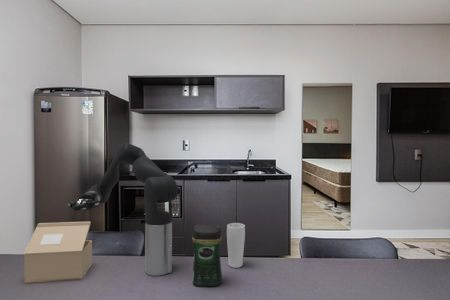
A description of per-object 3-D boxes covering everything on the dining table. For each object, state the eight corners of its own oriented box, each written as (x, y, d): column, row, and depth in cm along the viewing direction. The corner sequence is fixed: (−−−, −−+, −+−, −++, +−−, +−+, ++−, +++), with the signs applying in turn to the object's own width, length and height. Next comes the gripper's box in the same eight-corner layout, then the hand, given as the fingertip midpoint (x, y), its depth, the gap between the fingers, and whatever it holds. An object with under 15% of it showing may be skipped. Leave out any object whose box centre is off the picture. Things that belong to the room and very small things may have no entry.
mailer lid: (91, 222, 103) (90, 221, 103) (82, 251, 93) (81, 250, 93) (38, 224, 100) (38, 223, 100) (24, 254, 90) (23, 253, 90)
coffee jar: (222, 276, 96) (222, 222, 96) (221, 288, 89) (221, 228, 88) (193, 275, 97) (194, 221, 97) (190, 287, 89) (190, 228, 89)
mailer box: (92, 264, 105) (92, 240, 105) (81, 279, 93) (81, 252, 93) (41, 267, 102) (41, 242, 102) (24, 283, 90) (24, 255, 90)
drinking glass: (243, 270, 102) (243, 228, 101) (224, 268, 103) (225, 227, 103) (245, 262, 108) (246, 223, 108) (228, 261, 110) (228, 222, 109)
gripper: (73, 192, 129) (58, 199, 112) (104, 191, 132) (94, 198, 114) (73, 208, 129) (58, 218, 112) (104, 207, 132) (94, 217, 115)
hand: (76, 208), depth 113 cm, fingers closed
